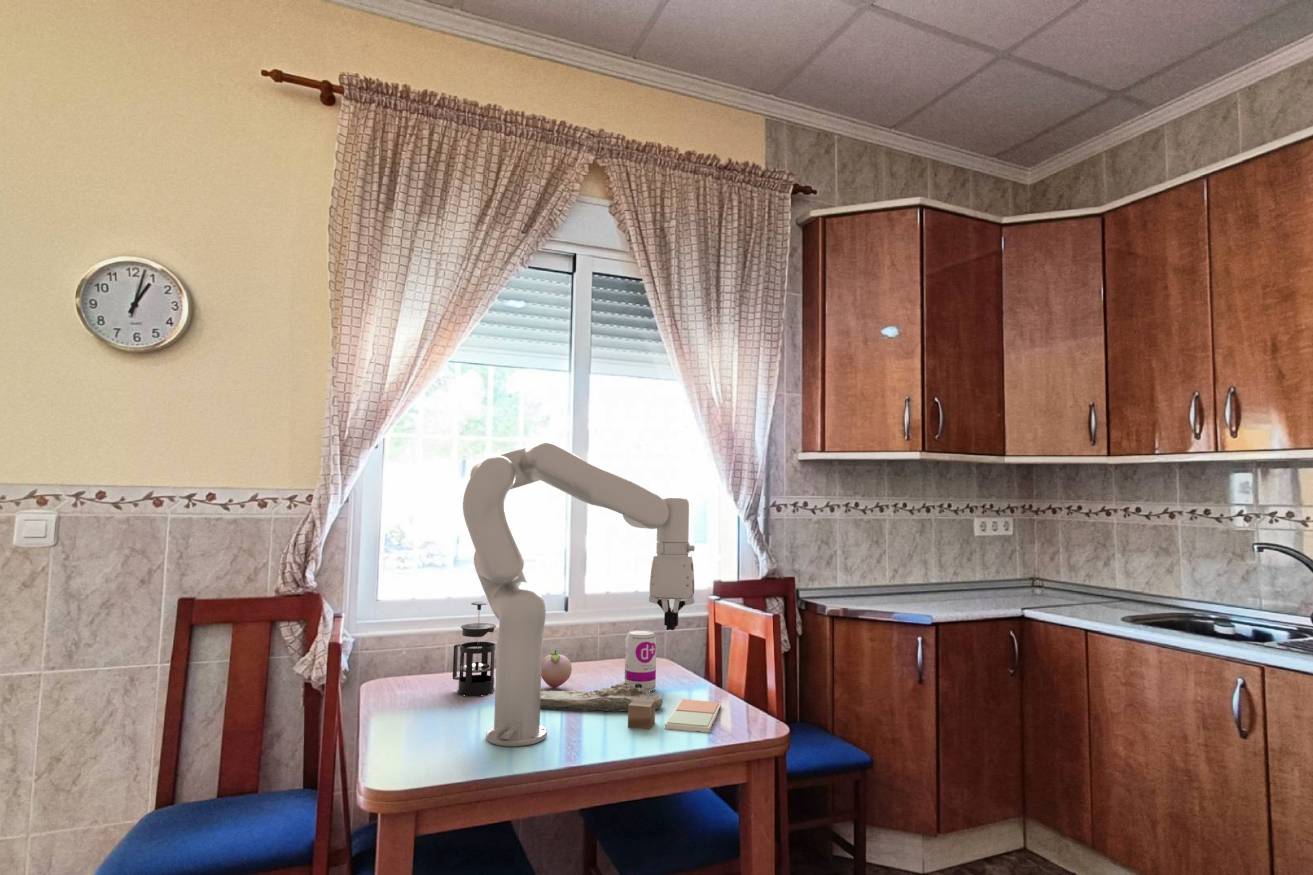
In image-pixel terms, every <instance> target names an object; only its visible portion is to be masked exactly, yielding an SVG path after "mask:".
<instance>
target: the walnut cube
mask: <svg viewBox="0 0 1313 875" xmlns="http://www.w3.org/2000/svg"><path fill="white" fill-rule="evenodd" d="M627 716H628V717H627V728H628V729H637V730H648V731H649V730H650V731H651V729H652V727H653V726H654V725H655V724H656V721H655V720H656V709H655V701H652V700H639V699H634V700H633V701H632V702H631V703H630V704H629V705H628V711H627Z"/></svg>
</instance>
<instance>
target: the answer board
mask: <svg viewBox="0 0 1313 875" xmlns="http://www.w3.org/2000/svg"><path fill="white" fill-rule="evenodd" d="M720 706H721V707H722V702H719V701H710V700H709V701H708V700H699V699H698V700H697V699H683V698H682V699H681V700H680V701H678V704H677V706H676V707H675V708H674V709H673V711H672V713H671V714H670V715H669V716H668V718H667V720H666V721H665V722H664V729H665V730H675V731H685V732H687V731H689V732H696V731H701V732H700V733H708V732H709V733H710V732H711V730H712V728H713V726H712V724H713V725H714V723H715V721H714V720H716V719H717V717H716V715H717V713H718V710H719V708H720ZM720 709H721V708H720ZM718 714H719V713H718ZM717 716H718V715H717ZM715 718H716V719H715ZM713 722H714V723H713ZM711 727H712V728H711ZM710 729H711V730H710Z"/></svg>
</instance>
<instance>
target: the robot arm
mask: <svg viewBox="0 0 1313 875" xmlns="http://www.w3.org/2000/svg"><path fill="white" fill-rule="evenodd" d="M469 475H470V477H469V480H468V482H467V484H466V487H465V491H464V495H463V500H462V513H463V516H464V517H463V518H464V522H465V524H466V525H465V526H466V527H467V529H468V530H467V531H468V533H469V535H470V539H471V542H472V544H473V548H474V550H475V551H474V556H473V564H474V568H475V571H476V574H477V577H478V579H479V583H480V584H481V587H482V590H483V591H484V593H485V594H484V595H485V597H486V598H487V601H488V602H487V603H488V604H489V606H490V608H491V611H492V612H493V614H494V616H495V617H496V619H498V620H499V622H498V623H499V624H498V625H499V626H498V632H497V642H496V657H495V661H496V662H495V663H496V664H495V665H496V666H495V686H494V690H495V691H494V693H495V694H494V718H493V726H492V727H491V728H489V729H488V730H487V731H486V734H485V737H486V740H487V742H488V743H490V744H493V745H497V746H501V747H502V746H503V747H523V746H524V747H525V746H529V745H530V746H531V745H533V744H534V745H535V744H537V743H539V742H542V741H544V739H546V738H547V735H548V730H547V728H546V727H545V726H543V725H541V724H540V723H541V708H540V699H541V691H542V677H541V668H542V660H543V658H542V655H543V637H544V629H545V624H546V615H547V614H546V613H547V612H546V604H545V601H544V599H543V597H542V595H541V593H540V592H539V591H538V590H536V588H533V587H532V586H530V585H528V584H529V583H528V582H527V579H526V576H525V574H524V572H523V570H524V565H525V560H524V555H523V551H522V550H521V547H520V546H519V544H518V541H517V539H516V536H515V535H514V532H513V529H512V527H511V525H510V521H509V518H508V514H507V512H506V506H505V502H506V496H507V494H508V492H509V491H510V490H512V489H516V488H519V487H523V486H527V485H529V484H532V483H535V482H539V481H540V482H543V483H545V484H547V485H550V486H552V487H553V488H555V489H558V490H560V491H562V492H563V493H565V494H568V495H570V496H571V497H573V498H575V499H577V500H579V501H581V502H583V503H586V504H589V505H592V506H597V507H600V508H601V507H602V508H605V509H608V510H611V511H614V512H616V513H618V514H621V515H622V517H623V519H624V520H625V522H626V523H627V524H628V525H629V526H631V527H634V528H639V529H649V530H655V529H656V552H655V554H654V555H653V557H652V562H651V568H650V569H651V570H650V576H649V578H650V579H649V597H648V602H650V603H653V604H655V605H658V606H659V607H660V608H661V610H662V611H663V613H664V616H663V617H664V618H663V620H664V621H663V622H664V623H663V624H664V626H666V630H667V631H669V630H671V631H674V630H676V628H677V627H679V611H680V610H682V609H683V607H684V606H690V605H694V604H695V596H694V595H695V572H694V571H695V570H694V562H693V557H692V555H689V553H690V552H695V544H694V545H692V544H691V543H690V542H689V536H690V535H689V534H690V533H689V531H690V530H689V528H690V523H689V522H690V521H689V520H690V503H689V500H688V499H687V498H686V497H679V496H678V497H677V496H666V497H665V496H664V497H661V496H659V495H657V494H655V493H654V492H652V491H650V490H649V489H646V488H644V487H643V486H641V485H639V484H637V483H635V482H632V481H630V480H627V479H625V478H623V477H621V476H619V475H616V474H614V473H613V472H611V471H608V470H607V469H606V470H605V469H602V468H601V467H599V466H597V465H595V464H593V463H591V462H589V461H587V460H586V459H583V458H582V457H579V456H578V455H576V454H574V453H572V452H571V451H568V450H567V449H565V448H563V447H561V446H560V445H557V444H555V443H553V442H549V441H541V442H537V443H534V444H531V445H528V446H524V447H522V448H519V449H515V450H511V451H507V452H504V453H500V454H496V455H490V456H487V457H484V458H480V460H478V461H477V462H475V464H474V465H473V466H472V468H471V471H470V474H469ZM670 600H673V607H672V608H671V604H670Z"/></svg>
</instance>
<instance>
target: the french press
mask: <svg viewBox="0 0 1313 875" xmlns="http://www.w3.org/2000/svg"><path fill="white" fill-rule="evenodd" d="M488 604H489V602H486V601H474V602H471V605H473V606H477V608H476V610H477V611H478V613H477V617H478V618H477V622H474V623H473V622H471V623H465V624H463V625H460V629H462V633H461V634H462V636H463V637H469V638H477V641H470V642H469V641H468V642H463V643H457V644H454V645H453V661H452V665H453V666H452V680H455V681H456V680H458V689H457V691H456V692H457V694H458V693H459V694H460V695H459V694H458V695H459V696H461V695H465V696H464V697H466V696H479V697H482V696H481V695H486V696H489V695H488V694H490V695H492V694H493V692H494V693H495V686H494V685H495V672H494V671H495V654H496V653H495V651H496V643H494V642H492V641H491V642H490V641H480V638H481V637H484V636H486V635H487V634H488V633H494V631H495V628H496V627H497V625H496V624H494V623H487V622H486V623H485V622H480V614H481V610H482V606H486V605H488ZM459 651H460V655H459V654H458V653H459ZM489 653H490V663H488V662H489ZM465 654H466V655H465ZM474 654H475V655H476V661H475V663H474ZM479 654H481V660H480V661H481V662H479ZM458 656H460V658H459V659H460V660H459V676H458ZM465 656H466V658H465ZM465 659H466V660H465ZM488 672H489V673H490V674H489V675H488ZM464 673H465V676H464ZM476 673H477V674H476ZM478 673H480V674H478ZM491 693H492V694H491Z"/></svg>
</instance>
